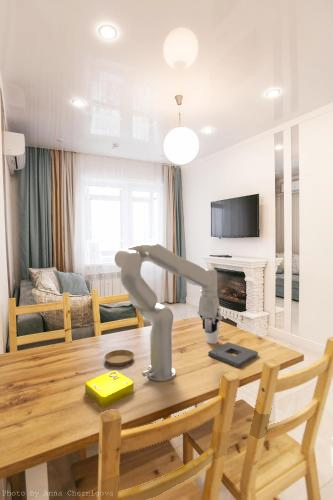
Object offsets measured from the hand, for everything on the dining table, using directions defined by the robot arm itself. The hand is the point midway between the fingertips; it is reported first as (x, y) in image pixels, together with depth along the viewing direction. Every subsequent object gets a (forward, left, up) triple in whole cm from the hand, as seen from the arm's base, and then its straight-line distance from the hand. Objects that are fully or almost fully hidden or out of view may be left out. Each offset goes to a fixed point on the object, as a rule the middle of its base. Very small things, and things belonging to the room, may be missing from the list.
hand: (209, 329), depth 132 cm
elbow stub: (0, 0, -1) cm, 1 cm away
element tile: (-51, +11, -16) cm, 54 cm away
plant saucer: (-33, +31, -16) cm, 48 cm away
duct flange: (+12, -6, -15) cm, 20 cm away
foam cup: (+19, +13, -16) cm, 28 cm away
